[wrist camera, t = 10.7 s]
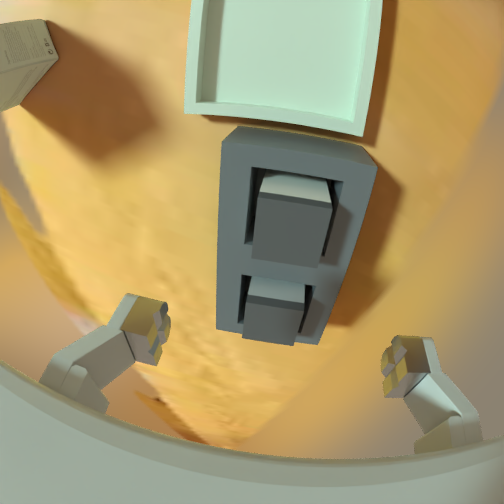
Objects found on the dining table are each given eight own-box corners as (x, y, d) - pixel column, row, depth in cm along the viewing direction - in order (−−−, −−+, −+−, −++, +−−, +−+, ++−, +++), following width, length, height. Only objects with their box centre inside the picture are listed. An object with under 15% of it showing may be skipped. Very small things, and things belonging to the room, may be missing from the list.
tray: (205, -35, 13) (197, -42, 11) (377, -17, 12) (384, -23, 10) (192, 109, 20) (183, 113, 18) (357, 131, 19) (362, 136, 17)
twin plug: (257, 251, 25) (245, 302, 20) (304, 259, 24) (304, 311, 20) (252, 287, 27) (242, 338, 22) (296, 294, 27) (293, 345, 22)
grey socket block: (238, 125, 20) (219, 144, 15) (361, 145, 19) (380, 170, 15) (227, 291, 29) (214, 334, 25) (317, 305, 29) (317, 350, 24)
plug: (268, 163, 20) (257, 197, 15) (324, 171, 20) (332, 209, 15) (262, 212, 23) (251, 258, 18) (314, 220, 22) (317, 268, 17)
